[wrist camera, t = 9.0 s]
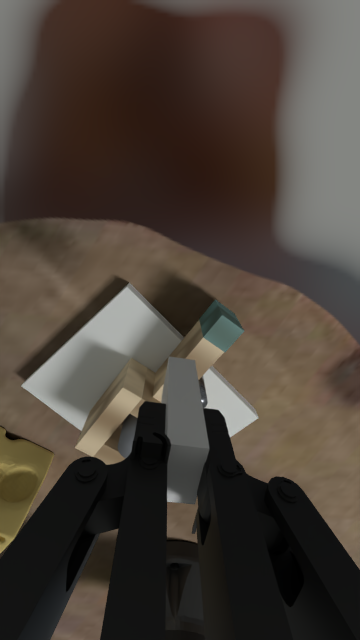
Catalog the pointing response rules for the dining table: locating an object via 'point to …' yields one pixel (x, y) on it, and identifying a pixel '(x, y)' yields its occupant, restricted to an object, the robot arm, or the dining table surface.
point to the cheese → (19, 482)
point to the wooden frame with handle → (153, 382)
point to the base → (122, 365)
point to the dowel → (203, 392)
